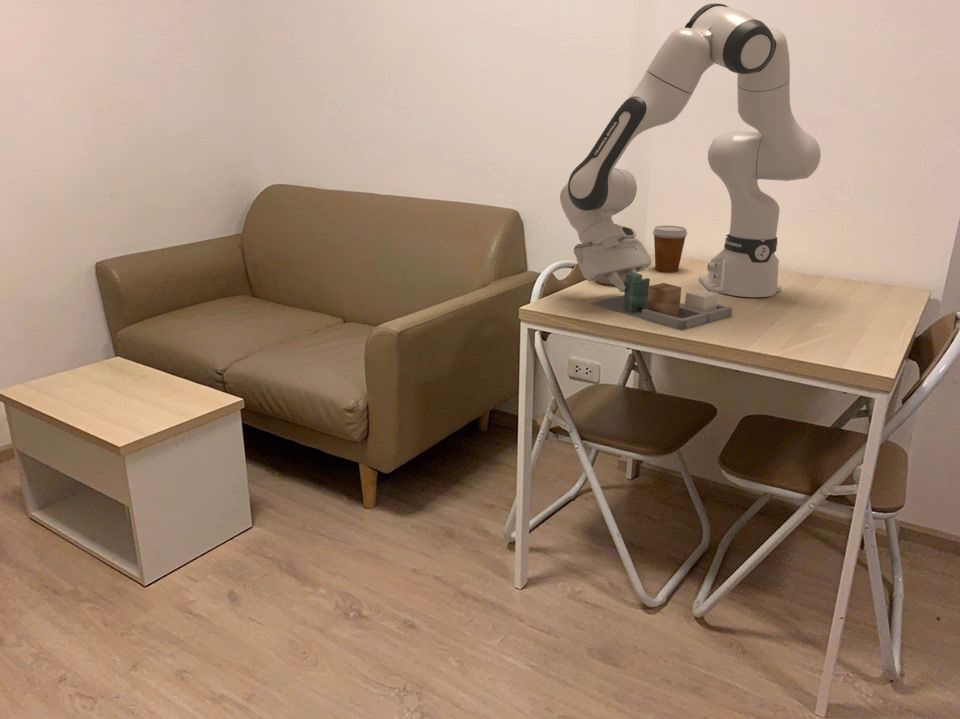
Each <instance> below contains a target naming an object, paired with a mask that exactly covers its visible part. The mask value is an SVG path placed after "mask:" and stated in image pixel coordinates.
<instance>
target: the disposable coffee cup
mask: <svg viewBox="0 0 960 719" xmlns="http://www.w3.org/2000/svg"><path fill="white" fill-rule="evenodd" d="M652 233H653V243H654V264H655V265H654V266H655V269H654V270H655V271H657V272H660V273H676V272H678V271H679V267H680V264H681V259H682V254H683V250H684V244H685V240H686V237H687V236H688V232H687V228H686V227H683V226H677V225H657V226H655V227H654V229H653V231H652Z"/></svg>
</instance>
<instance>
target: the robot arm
mask: <svg viewBox="0 0 960 719" xmlns="http://www.w3.org/2000/svg"><path fill="white" fill-rule="evenodd" d="M790 63H791V62H790V53H789V45H788V41H787V37H786V35H785V33H783V31H781V30H779V29H777V28H774V27H768V26H767V25H766V24H765V23H764V22H762V21H761V20H758V19H756V18H755V17H754V16H752V15H750V14H749V13H747V12H745V11H743V10H740V9H739V10H738V9H735V8H733V7H729V6H728V5H725V4H723V3H708V4H706V5H703V6H702V7H700V8H699V9H698V10H697V11H696V12H695V13H694V14H693V15H692V16H691V18H690V19H689V21H688V22H687V23H686V24H685V25H684V27H680V28H677V29H675V30H674V31H672V32H671V33H670V34H669V36H668V37H667V39H666V40H665V41H664V42H663V44H662V45H661V46H660V48H659V49H658V51H657V53H656V54H655V55H654V57H653V59H652V61H651V62H650V65H648V68H647V70H646V71H645V73H644V75H643V77H642V79H641V80H640V81H639V84H638V85H637V86H636V88H635V89H634V91H633V92H632V93H631V94H630V96H629V97H628V98H627V99H625V101H624V102H623V103H622V104H621V105H620V106H619V108H618V109H617V111H616V112H615V113H614V115H613V116H612V117H611V119H610V121H609V122H608V123H607V126H606V127H605V128H604V130H602V133H601V135H600V136H599V137H598V139H597V141H596V142H595V144H594V146H593V147H592V148H591V150H590V152H589V153H588V154H587V156H586V157H585V159H583V161H581V163H579V164H578V165H577V166H575V168H574V169H573V171H572V172H571V174H570V176H569V177H568V181H567V183H566V184H565V185H564V186H563V187H562V189H561V191H560V194H559V201H560V205H561V208H562V211H563V213H564V214H565V216H566V219H567V220H568V222H569V224H570V225H571V227H572V228H573V229H574V230H575V231H576V234H577V235H578V238H579V241H580V242H581V243H577V244H575V246H574V248H573V254H574V256H575V257H576V262H577V265H578V266H579V269H580V272H581V273H582V275H583V277H584V279H585V280H587V281H588V282H595V281H596V280H601V279H606V278H608V280H609V281H610V282H611V283H612V284H614V285H615V286H614V287H616V288H617V289H618V291H619V292H620V293H623V292H624V293H625V291H627V290H628V289H629V286H628V285H627V283H626V282H623V281H622V280H621V279H620V278H619V277H618V276H621V275H626V274H630V273H636V274H638V273H642V272H644V271H646V270H647V269H648V268H649V267H650V266H651V264H652V259H651V256H650V254H649V252H648V251H647V249H646V247H645V246H644V243H642V241H641V240H640V239H638V238H636V237H637V232H636V231H635V229H634V228H632V227H627V226H623V225H620V224H618V223H615V222H614V220H613V219H612V217H613V216H614V215H616V214H619V213H620V212H623V211H624V210H625V209H626V208H627V207H629V206H631V204H632V203H633V201H634V200H635V198H636V195H637V181H636V179H635V177H634V175H633V174H632V173H631V172H630V171H628V170H626V169H621V168H618V167H617V168H616V165H617V164H618V162H619V160H620V159H621V157H622V156H623V155H624V153H625V151H626V150H627V148H628V147H629V145H630V144H631V143H632V141H633V140H634V139H635V138H636V137H638V136H639V135H640V134H642V133H644V132H646V131H647V130H649V129H650V130H651V129H653V128H655V127H658V126H662V125H665V124H666V125H667V124H669V123H670V122H671V123H672V122H673V121H674V120H675V119H676V118H677V117H678V116H679V115H680V114H681V113H682V111H683V110H684V108H686V106H687V104H688V103H689V101H690V99H691V97H692V96H693V93H694V92H695V90H696V88H697V86H698V84H699V82H700V80H701V78H702V76H703V74H704V73H705V72H706V71H707V70H708V69H709V68H711V67H712V66H713V65H719V66H720V67H723V68H725V69H727V70H728V71H730V72H732V73H735V74H737V80H736V81H737V112H738V115H739V117H740V119H741V120H742V121H743V122H744V123H745V124H746V125H747V126H750V127H752V128H753V129H754V130H757V131H740V130H739V131H737V130H736V131H731V132H725V133H721V134H718V135H717V136H716V137H715V138H714V139H713V140H712V142H711V144H710V145H709V147H708V151H707V161H708V166H709V167H710V169H711V171H712V172H713V173H714V174H715V175H716V176H717V177H719V179H720V180H721V181H722V182H723V184H724V185H725V187H726V189H727V192H728V195H729V198H730V199H729V200H730V206H731V207H730V209H731V210H730V211H731V212H730V226H729V233H728V234H726V235H725V238H724V239H725V242H724V246H723V247H724V248H723V249H721V251H720V252H719V253H718V254H717V255H715V256H714V257H712V259H711V260H710V262H709V263H707V267H706V268H707V271H708V274H703V275H700V276H699V277H698V280H699V281H700V282H701V284H702V285H703V286H704V287H705V288H706V289H707V291H709V292H713V293H717V294H722V295H723V294H725V295H729V296H734V297H743V298H744V297H745V298H766V297H767V298H768V297H772V296H775V295H776V293H777V292H782V291H781V290H782V286H781V285H778V284H779V283H778V281H779V262H780V261H779V258H778V257H777V256H776V252H777V247H778V237H777V232H778V226H779V225H778V224H779V219H780V218H779V216H780V211H781V210H780V206H779V204H778V202H777V201H776V200H775V199H774V198H773V197H772V196H770V195H768V194H767V193H765V192H764V191H762V190H761V189H760V186H759V184H758V180H767V181H769V180H770V181H783V182H784V181H786V182H789V181H796V180H797V181H798V180H805V179H807V178H809V177H811V176H812V175H813V174H814V173H815V171H816V170H817V169H818V167H819V164H820V162H821V154H822V153H821V152H822V151H821V147H820V145H819V142H818V140H816V139H815V137H814V136H812V135H810V134H809V133H807V131H805V130H804V129H803V128H802V127H801V126H800V124H799V123H798V122H797V120H796V119H795V116H794V114H793V111H792V107H791V96H790V95H791V94H790V91H791V90H790V87H791V86H790V81H791V80H790V79H791V64H790ZM596 282H597V281H596Z"/></svg>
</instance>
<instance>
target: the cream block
mask: <svg viewBox="0 0 960 719" xmlns="http://www.w3.org/2000/svg"><path fill="white" fill-rule="evenodd" d="M684 298H685V299H684V304H685V307H686V308H690V309H694V310H698V311H701V312H709V311H713V310H717V304H718V303H719V302H718V300H719V293H714V292H710V291H709V290H704V289H696V290H692V291H688V292H685V297H684Z"/></svg>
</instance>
